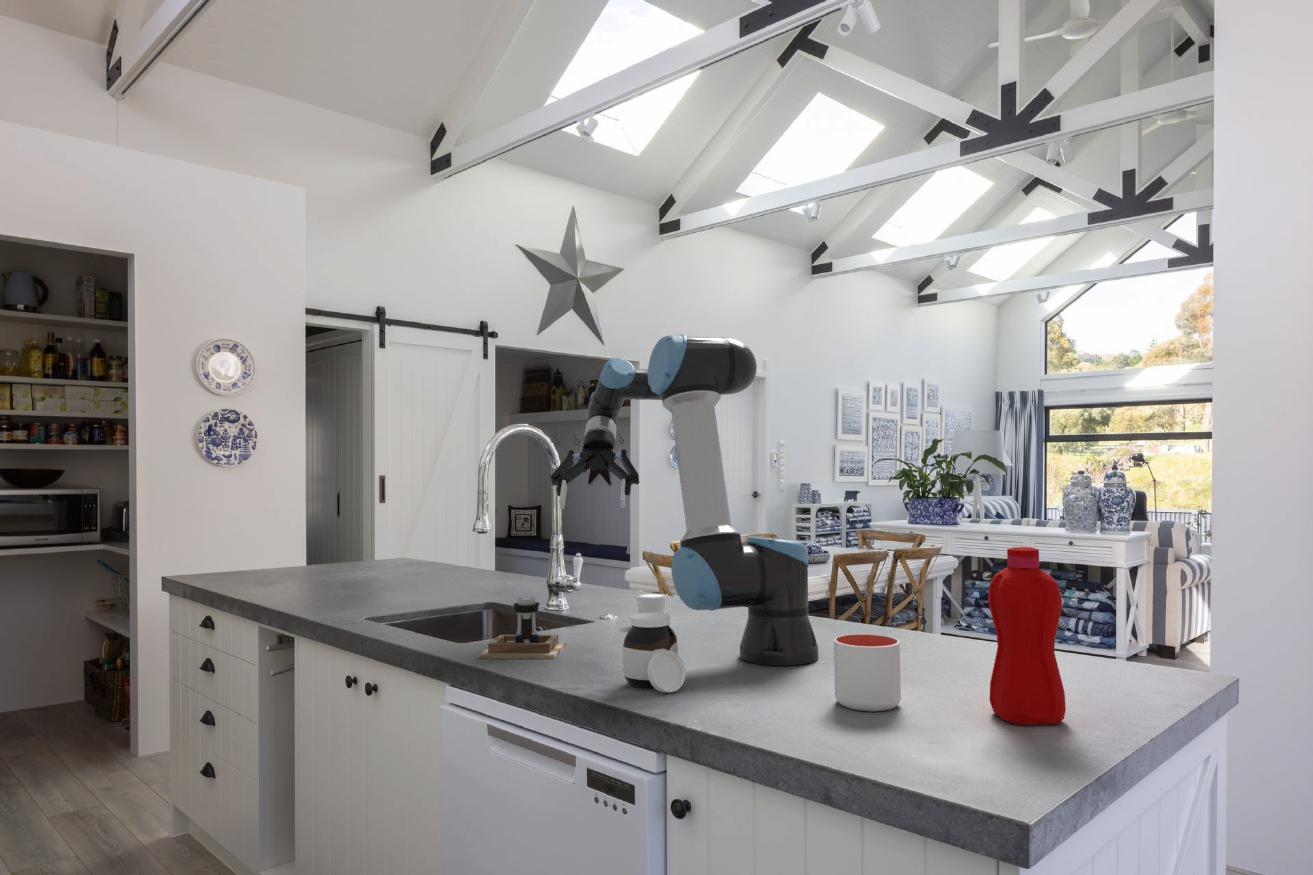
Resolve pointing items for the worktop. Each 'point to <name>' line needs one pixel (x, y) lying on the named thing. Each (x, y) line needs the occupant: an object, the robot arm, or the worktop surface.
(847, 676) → the cup
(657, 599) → the white cylinder
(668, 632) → the spread jar
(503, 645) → the socket plate
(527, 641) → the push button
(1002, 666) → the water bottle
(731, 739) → the worktop surface
